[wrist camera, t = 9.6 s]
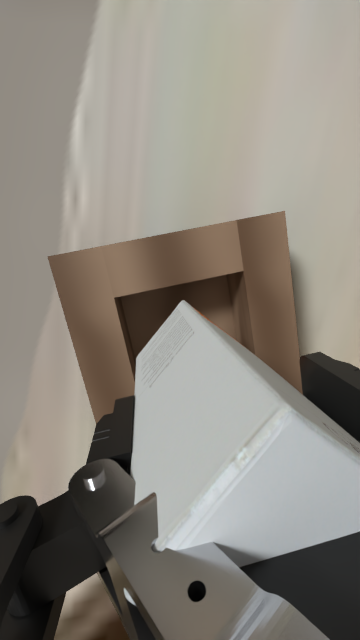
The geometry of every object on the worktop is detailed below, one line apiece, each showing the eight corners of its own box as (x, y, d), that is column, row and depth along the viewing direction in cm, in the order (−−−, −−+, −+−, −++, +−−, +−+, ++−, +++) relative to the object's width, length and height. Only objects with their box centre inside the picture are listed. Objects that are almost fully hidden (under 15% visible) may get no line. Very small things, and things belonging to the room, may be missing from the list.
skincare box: (262, 358, 17) (519, 574, 6) (215, 413, 18) (364, 725, 6) (180, 294, 16) (294, 402, 4) (131, 356, 16) (110, 616, 4)
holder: (254, 220, 23) (284, 210, 18) (275, 386, 26) (305, 417, 21) (68, 256, 21) (47, 256, 17) (115, 425, 25) (108, 467, 20)
